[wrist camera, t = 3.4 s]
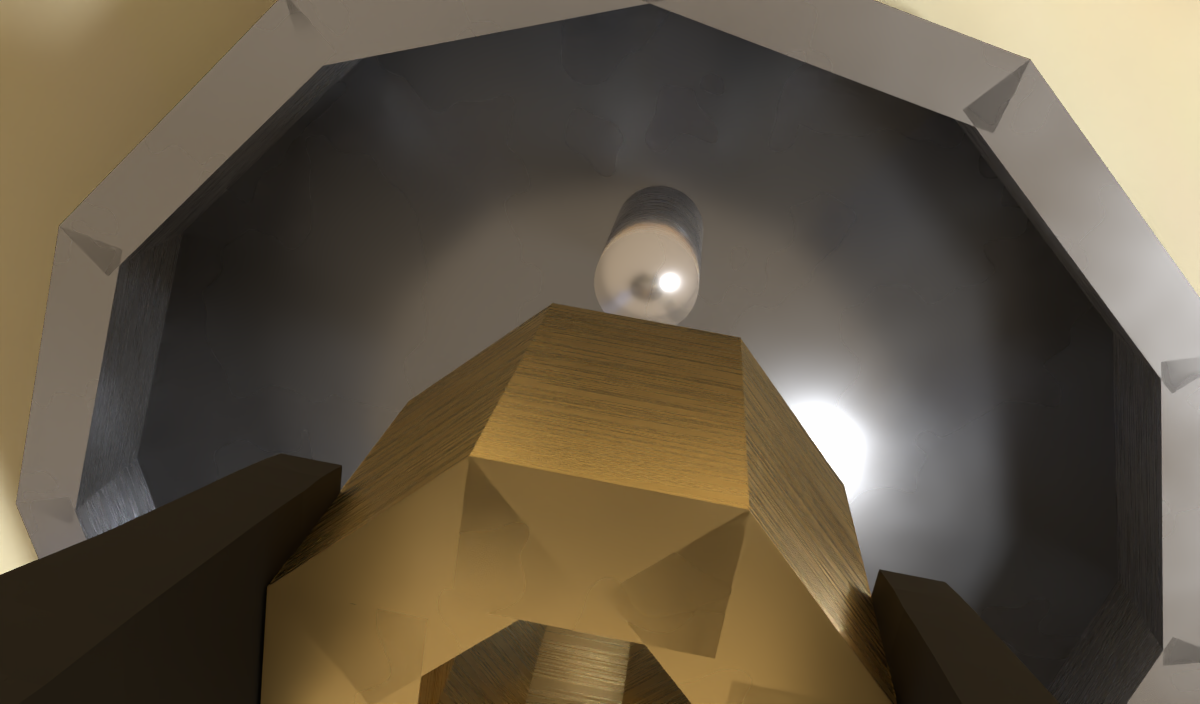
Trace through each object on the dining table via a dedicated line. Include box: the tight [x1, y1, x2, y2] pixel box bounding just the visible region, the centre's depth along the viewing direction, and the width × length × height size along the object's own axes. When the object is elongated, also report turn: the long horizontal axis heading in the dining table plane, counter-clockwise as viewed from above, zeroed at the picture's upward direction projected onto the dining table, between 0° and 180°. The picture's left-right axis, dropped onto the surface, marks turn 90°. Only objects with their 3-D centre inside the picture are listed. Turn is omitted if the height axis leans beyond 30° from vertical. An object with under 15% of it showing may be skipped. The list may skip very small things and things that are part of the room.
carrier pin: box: [594, 186, 703, 326], centre depth 16 cm, size 1×1×4 cm
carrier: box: [16, 0, 1200, 704], centre depth 18 cm, size 19×19×4 cm
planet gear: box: [261, 303, 897, 704], centre depth 10 cm, size 5×5×4 cm
